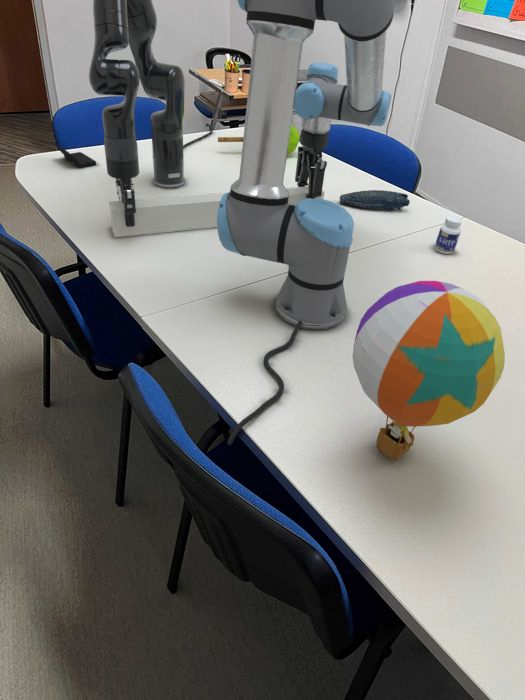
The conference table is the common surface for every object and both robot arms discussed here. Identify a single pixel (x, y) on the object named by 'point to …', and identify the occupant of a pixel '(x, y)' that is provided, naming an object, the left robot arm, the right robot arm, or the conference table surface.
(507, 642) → the conference table surface
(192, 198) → the beam
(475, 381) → the toy
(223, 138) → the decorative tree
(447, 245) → the pill bottle
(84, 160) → the black handled tool
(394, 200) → the fish model
